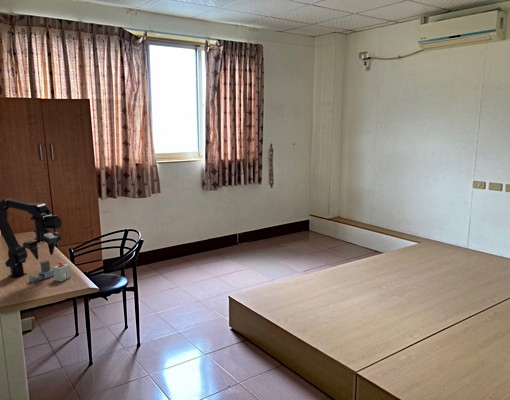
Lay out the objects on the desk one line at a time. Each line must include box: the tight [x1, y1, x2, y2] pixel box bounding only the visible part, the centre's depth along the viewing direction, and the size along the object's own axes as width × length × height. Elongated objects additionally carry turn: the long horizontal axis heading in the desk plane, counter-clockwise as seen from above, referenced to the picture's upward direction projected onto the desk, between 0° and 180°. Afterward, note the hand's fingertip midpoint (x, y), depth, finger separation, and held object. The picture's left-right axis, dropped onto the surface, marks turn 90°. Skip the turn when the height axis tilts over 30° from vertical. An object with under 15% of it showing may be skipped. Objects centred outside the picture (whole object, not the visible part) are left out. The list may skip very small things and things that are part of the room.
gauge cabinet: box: [52, 263, 72, 282], centre depth 224 cm, size 6×6×7 cm
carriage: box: [37, 260, 54, 280], centre depth 227 cm, size 5×5×8 cm
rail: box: [28, 268, 53, 284], centre depth 226 cm, size 3×13×3 cm, turn 153°
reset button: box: [58, 261, 64, 267], centre depth 223 cm, size 2×2×4 cm
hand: (44, 257), depth 226 cm, fingers open, 8 cm apart
